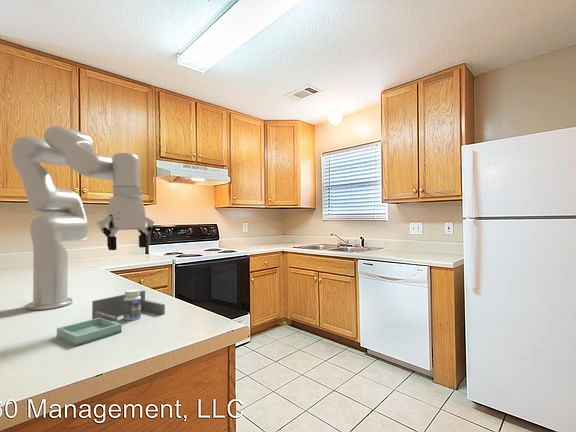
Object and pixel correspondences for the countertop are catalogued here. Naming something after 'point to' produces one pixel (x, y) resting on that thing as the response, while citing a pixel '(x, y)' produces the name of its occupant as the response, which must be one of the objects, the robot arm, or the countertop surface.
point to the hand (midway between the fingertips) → (128, 248)
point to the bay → (121, 307)
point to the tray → (88, 331)
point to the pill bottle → (132, 305)
